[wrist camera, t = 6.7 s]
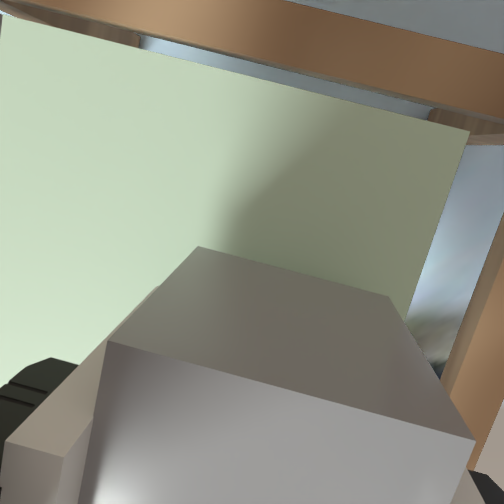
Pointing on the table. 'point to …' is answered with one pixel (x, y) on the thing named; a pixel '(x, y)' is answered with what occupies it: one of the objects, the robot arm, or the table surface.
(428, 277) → the table surface
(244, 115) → the hatch
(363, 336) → the cube
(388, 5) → the table surface
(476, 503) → the robot arm
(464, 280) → the table surface
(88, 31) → the frame
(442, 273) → the table surface
